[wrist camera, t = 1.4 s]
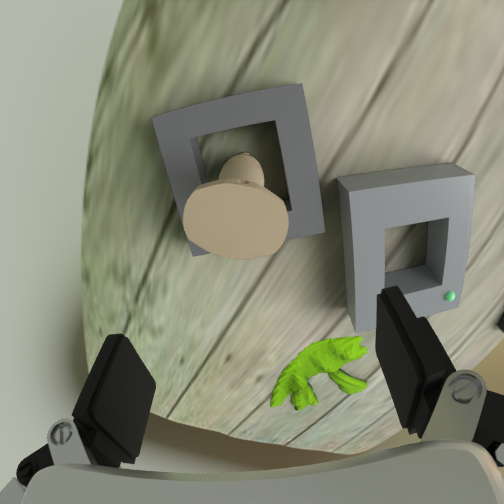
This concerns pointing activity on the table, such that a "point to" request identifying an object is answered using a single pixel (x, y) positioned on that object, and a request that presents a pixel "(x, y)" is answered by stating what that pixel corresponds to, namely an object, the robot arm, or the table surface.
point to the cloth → (319, 370)
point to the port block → (399, 214)
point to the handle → (236, 213)
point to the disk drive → (501, 324)
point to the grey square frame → (237, 115)
